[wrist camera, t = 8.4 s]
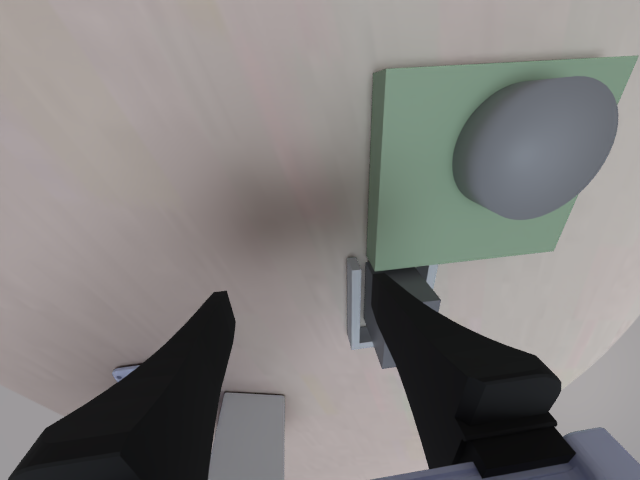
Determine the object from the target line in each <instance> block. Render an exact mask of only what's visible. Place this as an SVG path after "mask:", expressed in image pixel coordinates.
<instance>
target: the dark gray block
mask: <svg viewBox="0 0 640 480" xmlns="http://www.w3.org/2000/svg"><path fill="white" fill-rule="evenodd" d="M377 273H385V274H387V275H388V276H389V277H390V278H392V279H393V280H394V281H395V282H397V283H398V284H399V285H400V286H401V287H403V288H404V289H405V290H407V291H408V292H409V293H410V294H412V295H413V296H414V297H416V298H417V299H419V300H420V301H421V302H423V303H424V304H426V305H427V306H429V307H430V308H432V309H433V310H435V311H436V312H438V311H439V306H440V301H441V300H440V298H439V297H438V296H437V295H436V293H435V292H434V291H433V289H432V288H431V287H430V286H429V284H428V283H427V282H426V281H425V279H424V278H423V277H422V276H421V274H420V273H419V272H418V270H417V269H416V268H415V267H410V268H401V269H392V270H383V271H374V269H373V267H372V265H371V263H370V262H366V266H365V295H364V320H365V323H366V326H367V329H368V331H369V334H370V337H371V340H372V342H373V345H374V348H375V351H376V353H377V356H378V359H379V362H380V364H381V367H382V369H385V368H392V367H396V365H395V362H394V360H393V358H392V356H391V354H390V351H389V349H388V347H387V345H386V343H385V341H384V338H383V336H382V334H381V332H380V330H379V327H378V325H377V323H376V320H375V317H374V313H373V310H372V307H371V295H372V276H373V274H377Z"/></svg>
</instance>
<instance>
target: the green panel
mask: <svg viewBox="0 0 640 480" xmlns="http://www.w3.org/2000/svg"><path fill="white" fill-rule="evenodd" d="M637 59H638V56H621V57H602V58H583V59H564V60H545V61H526V62H507V63H488V64H469V65H450V66H431V67H412V68H393V69H384V70H382V71H379V72H376V73H373V91H372V118H371V146H370V173H369V200H368V228H367V255H366V256H367V258H368V260H369V262H370V263H371V265H372V267H373V269H374V271H383V270H392V269H401V268H410V267H417V270H418V272H419V273H420V274H421V276H422V277H423V278H424V279H425V281H426V282H427V283H428V284H429V286H430V287H431V288H432V289H433V288H434V283H435V278H436V272H437V267H438V264H445V263H453V262H462V261H471V260H480V259H488V258H497V257H506V256H515V255H523V254H532V253H541V252H550V251H554V249H555V247H556V244H557V242H558V240H559V237H560V235H561V233H562V230H563V228H564V226H565V224H566V221H567V219H568V217H569V214H570V212H571V210H572V208H573V205H574V203H575V201H576V198H577V196H578V194H579V193H580V192H581V191H582V190H583V189H584V188H585V187H586V186H587V185H588V184H589V183H590V181H591V180H592V179H593V178H594V177H595V175H596V174H597V173H598V171H599V170H600V168H601V167H602V165H603V164H604V162H605V160H606V158H607V156H608V154H609V152H610V150H611V148H612V145H613V143H614V139H615V136H616V132H617V126H618V107H617V104H618V102H619V100H620V98H621V95H622V93H623V91H624V88H625V86H626V84H627V82H628V79H629V77H630V75H631V72H632V70H633V68H634V66H635V63H636V61H637ZM360 302H361V268H360V265H359V263H358V261H357V259H356V257H351V258H347V335H348V338H349V342H350V346H351V350H354V349H361V348H369V347H374V345H373V342H372V340H371V337H370V334H369V331H368V329H367V327H360Z"/></svg>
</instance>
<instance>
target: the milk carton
mask: <svg viewBox="0 0 640 480" xmlns="http://www.w3.org/2000/svg"><path fill="white" fill-rule="evenodd" d="M284 422H285V397H284V396H281V395H263V394H245V393H225V394H224V397H223V402H222V407H221V411H220V416H219V420H218V425H217V430H216V434H215V439H214V444H213V448H212V453H211V458H210V466H209V474H208V480H284Z"/></svg>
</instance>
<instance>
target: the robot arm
mask: <svg viewBox="0 0 640 480" xmlns="http://www.w3.org/2000/svg"><path fill="white" fill-rule="evenodd" d="M371 307H372V310H373V313H374V317H375V320H376V323H377V325H378V327H379V330H380V332H381V334H382V336H383V338H384V341H385V343H386V345H387V347H388V349H389V351H390V354H391V356H392V358H393V360H394V362H395V365H396V367H397V369H398V372H399V375H400V377H401V380H402V383H403V386H404V389H405V392H406V395H407V398H408V401H409V404H410V407H411V410H412V413H413V416H414V420H415V423H416V426H417V429H418V432H419V436H420V439H421V442H422V446H423V449H424V453H425V456H426V460H427V463H428V467H429V469H428V470H422V471H417V472H411V473H406V474H400V475H394V476H389V477H383V478H377V479H372V480H640V464H639V463H638V462H637V461H636V460H635V459H634V458H633V457H632V456H631V455H630V454H629V453H628V452H627V451H626V450H625V449H624V448H623V447H622V446H621V445H620V444H619V443H618V442H617V441H616V440H615V439H614V438H613V437H612V436H611V435H610V434H609V433H608V432H607V431H606V429H604V428H601V427H599V428H593V429H587V430H581V431H575V432H572V433H569V434H567V435H565V436H564V437H562V436H561V434H560V433H559V432H558V431H557V430H556V429H555V426H557V421H556V420H555V419H554V418H553V417H552V415H551V414H550V413H549V412H548V411H549V410H550V408H551V407H552V405H553V404H554V402H555V401H556V399H557V397H558V396H559V394H560V392H561V381H560V380H559V378H558V377H557V376H556V375H555V374H554V373H553V372H552V371H551V370H550V369H549V368H548V367H547V366H546V365H545V364H544V363H543V362H542V361H541V360H540V359H539V358H538V357H537V356H535V355H532V354H530V353H527V352H524V351H521V350H518V349H515V348H512V347H509V346H507V345H504V344H501V343H499V342H497V341H494V340H492V339H489V338H487V337H485V336H482V335H480V334H478V333H476V332H473V331H471V330H469V329H467V328H465V327H463V326H461V325H459V324H457V323H455V322H454V321H452V320H450V319H448V318H447V317H445V316H443V315H441V314H440V313H438V312H436V311H435V310H433V309H432V308H430V307H429V306H427V305H426V304H424V303H423V302H421V301H420V300H419V299H417V298H416V297H414V296H413V295H412V294H410V293H409V292H408V291H407V290H405V289H404V288H403V287H401V286H400V285H399V284H398V283H397V282H395V281H394V280H393V279H392V278H390V277H389V276H388V275H387V274H385V273H377V274H373V276H372V295H371ZM235 323H236V322H235V318H234V315H233V311H232V308H231V304H230V301H229V297H228V294H227V291H221V292H214V293H213V294H212V295H211V296H210V297H209V298H208V299H207V300H206V302H205V303H204V304H203V305H202V306H201V307H200V308H199V309H198V311H197V312H196V313H195V314H194V315H193V316H192V317H191V318H190V319H189V320H188V322H187V323H186V324H185V325H184V326H183V327H182V328H181V329H180V330H179V331H178V332H177V333H176V334H175V335H174V336H173V337H172V338H171V339H170V340H169V341H168V342H167V343H166V344H165V345H163V346H162V347H161V348H160V349H159V350H158V351H157V352H156V353H154V354H153V355H152V356H151V357H150V358H149V359H147V360H146V361H145V362H144V363H142V364H141V365H137V366H130V367H122V368H116V369H114V371H113V372H112V375H113V376H114V378H115V379H116V381H117V382H118V383H116V384H115V385H113V386H112V387H110V388H109V389H108V390H106V391H105V392H103V393H102V394H100V395H99V396H97V397H96V398H94V399H93V400H91V401H90V402H88V403H86V404H85V405H83V406H82V407H80V408H78V409H77V410H75V411H74V412H72V413H70V414H69V415H67V416H65V417H64V418H62V419H60V420H59V421H57V422H56V423H54V424H52V425H50V426H49V427H47V428H46V429H45V430H44V431H43V432H42V434H41V435H40V436H39V438H38V439H37V440H36V442H35V443H34V444H33V446H32V447H31V449H30V450H29V451H28V453H27V454H26V455H25V456H24V458H23V459H22V460H21V462H20V463H19V465H18V466H17V467H16V469H15V470H14V471H13V473H12V474H11V475H10V477H9V479H8V480H208V474H209V466H210V458H211V449H212V442H213V435H214V427H215V420H216V414H217V408H218V402H219V396H220V392H221V387H222V383H223V379H224V376H225V372H226V368H227V364H228V360H229V356H230V353H231V349H232V345H233V339H234V332H235Z"/></svg>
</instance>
